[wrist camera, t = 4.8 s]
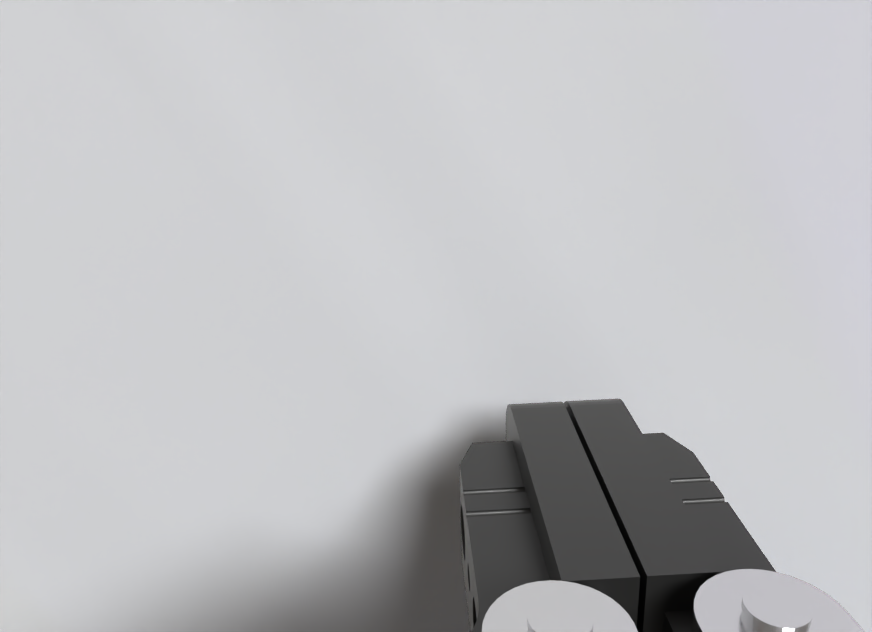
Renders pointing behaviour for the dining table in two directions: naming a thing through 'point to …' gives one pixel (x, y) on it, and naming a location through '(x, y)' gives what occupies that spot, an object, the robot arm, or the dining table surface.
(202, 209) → the dining table surface
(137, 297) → the dining table surface
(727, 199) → the dining table surface
